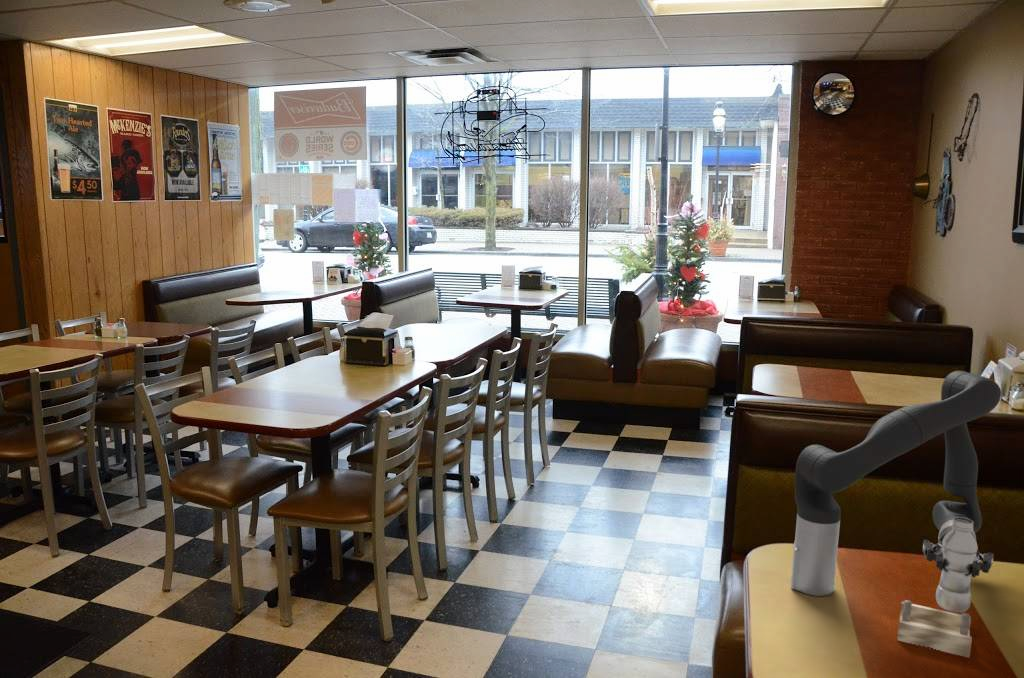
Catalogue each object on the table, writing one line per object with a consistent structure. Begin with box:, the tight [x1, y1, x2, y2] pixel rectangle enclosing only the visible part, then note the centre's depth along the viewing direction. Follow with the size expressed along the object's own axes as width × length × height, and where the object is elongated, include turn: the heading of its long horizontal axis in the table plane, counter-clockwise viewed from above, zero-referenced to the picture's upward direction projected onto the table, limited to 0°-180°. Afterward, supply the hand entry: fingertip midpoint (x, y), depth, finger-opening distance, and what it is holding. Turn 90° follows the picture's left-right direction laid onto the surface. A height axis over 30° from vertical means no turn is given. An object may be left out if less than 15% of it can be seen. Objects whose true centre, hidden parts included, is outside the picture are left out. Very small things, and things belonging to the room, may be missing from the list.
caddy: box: [896, 599, 973, 659], centre depth 169 cm, size 13×10×6 cm
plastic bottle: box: [935, 517, 979, 613], centre depth 174 cm, size 6×7×20 cm
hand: (957, 569), depth 172 cm, fingers closed on plastic bottle, 5 cm apart
